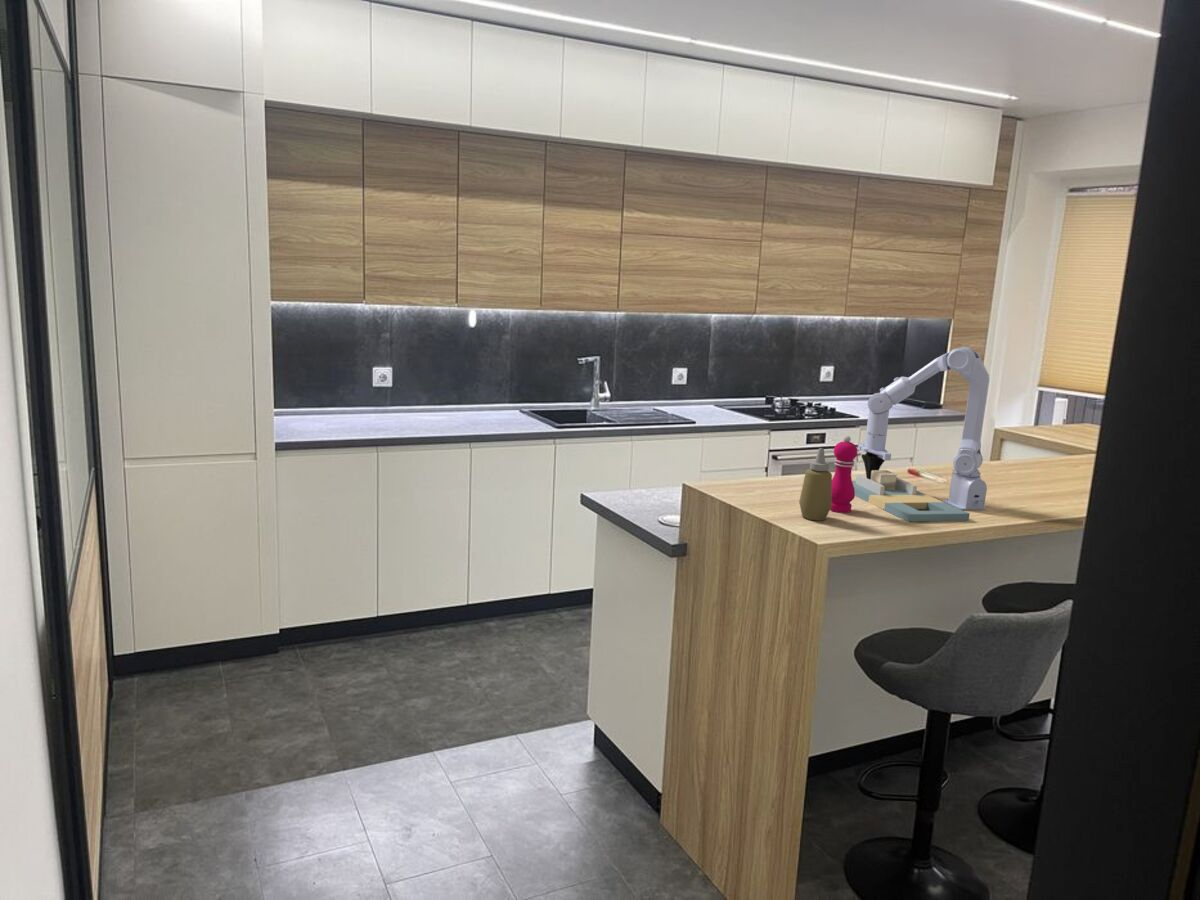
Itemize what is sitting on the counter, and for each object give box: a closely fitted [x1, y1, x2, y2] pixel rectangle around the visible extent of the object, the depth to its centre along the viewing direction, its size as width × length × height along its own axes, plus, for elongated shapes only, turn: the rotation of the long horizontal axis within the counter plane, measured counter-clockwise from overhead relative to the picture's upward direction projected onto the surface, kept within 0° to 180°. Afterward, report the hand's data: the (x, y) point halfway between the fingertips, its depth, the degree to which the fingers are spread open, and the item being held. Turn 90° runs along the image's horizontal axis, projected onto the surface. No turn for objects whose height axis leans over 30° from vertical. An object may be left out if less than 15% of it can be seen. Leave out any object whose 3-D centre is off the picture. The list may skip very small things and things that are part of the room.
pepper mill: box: [830, 435, 858, 514], centre depth 229 cm, size 7×7×20 cm
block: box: [871, 469, 898, 490], centre depth 249 cm, size 5×5×4 cm
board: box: [852, 474, 970, 522], centre depth 241 cm, size 35×18×4 cm, turn 14°
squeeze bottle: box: [798, 447, 833, 521], centre depth 219 cm, size 8×8×18 cm
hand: (870, 479), depth 256 cm, fingers closed
